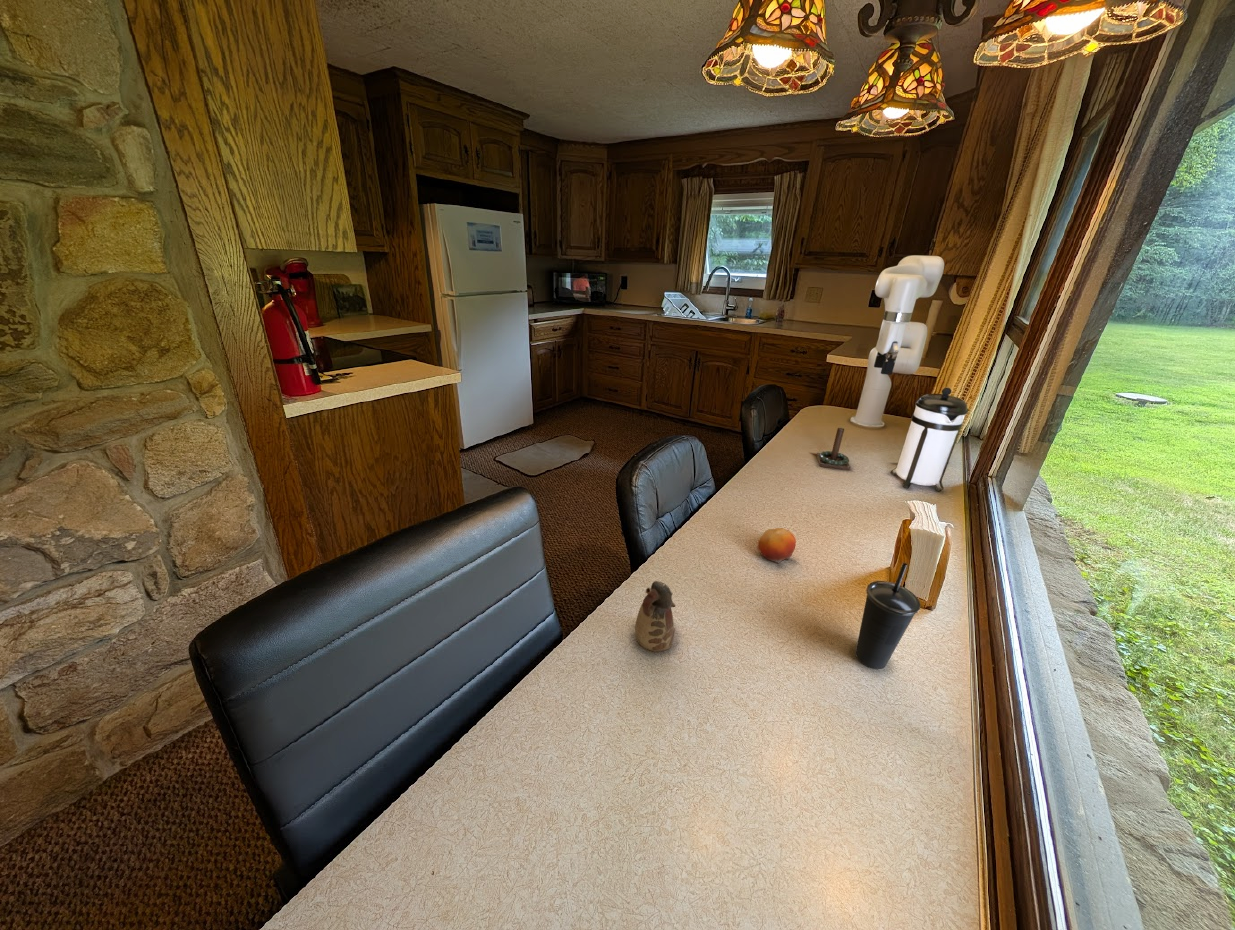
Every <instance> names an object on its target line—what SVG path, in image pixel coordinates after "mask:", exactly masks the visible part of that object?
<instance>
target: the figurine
mask: <svg viewBox="0 0 1235 930" xmlns="http://www.w3.org/2000/svg"><path fill="white" fill-rule="evenodd" d="M645 593H646V595H645V597H644V598H643V600H642V603H641V605H640V607H639V610H638V613H637V616H636V620H635V625H634V630H635V631H634V636H635V639H636V641H637V643H638V644H639V645H640V646H641V647H642V648H644V649H645V650H648V651H650V652H654V653H656V652H664V651H667V650H668V649H670V648H671V647H672V645H673V642H674V637H675V632H676V629H675V623H674V613H673V611H672V608H676V607H677V606H676V605H677V604H675V603H674V602H673V599H672V598H673V592H672V589H671V588H670V587H669V585H668V584H666V583H665V582H663V581H659V580H655V581H653V582H652V584H651V585H650V587H647V588H646V589H645Z"/></svg>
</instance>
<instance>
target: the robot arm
mask: <svg viewBox="0 0 1235 930" xmlns="http://www.w3.org/2000/svg"><path fill="white" fill-rule="evenodd" d="M944 269H945V261H944V259H943V258H942V257H941V256H938V255H907V256H904V257H903V258H902V259H901V260H900V261H899V262H898V264H897V265H894V266H890V267H887V268H885V269H883V270H882V271H881V272H880V274H879V276H878V278H877V280H876V283H875V286H874V287H875V288H874V293H875V295H876V297H878V298H880V299H883V302H884V315H883V319H882V322H881V325H880V330H879V334H878V339H877V342H876V346H875V347H873V348H872V349H871V350H870V352H869V354H868V358H867V359H868V360H867V368H866V375H865V379H864V382H863V387H862V390H861V395H860V398H859V402H858V405H857V409H856V412H855V415H854V416H852V417H851V418H850V420H849V421H850V422H852V423H853V424H855V425H859V426H862V427H867V428H882V427H884V426H885V422H884V421H882V419H883V416H884V413H885V409H886V405H887V402H888V398H889V395H890V391H891V388H892V379H891V378H890V376H891V375H892V374H893V373H894V374H901V375H914V374H916V373H917V371H918V370H919V367H920V364H921V360H922V357H923V353H924V350H925V346H926V345H925V344H926V342H927V336H928V327H927V325H926V324H925V323H923V322H918V321H911V320H912V319H911V318H912V315H913V313H914V309H915V305H916V301H917V300H918V299H919V298H930V297H932V296H934V294H935V293H936V291H937V289H938V286H939V284H940V281H941V279H942V277H943V274H944V271H945V270H944Z"/></svg>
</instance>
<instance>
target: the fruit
mask: <svg viewBox="0 0 1235 930" xmlns="http://www.w3.org/2000/svg"><path fill="white" fill-rule="evenodd" d="M796 545H797V541H796V537H795V535H794V534H793V533H792V532H791V531H790V530H788V529H786V528H784V527H776V528H768V529H766V530H765V531H764V532H763V534H762V535H760V537H759V539H758V542H757V548H758V551H759V553H760V555H762V556H763V557H764V558H766V559H767V560H768V561H772V562H775V563H777V564H781V562H783V561H784V560H786V559H788V560H790V561H793V559H792V558H791V557H792V556H793V554H794V552H795V550H796Z"/></svg>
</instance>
